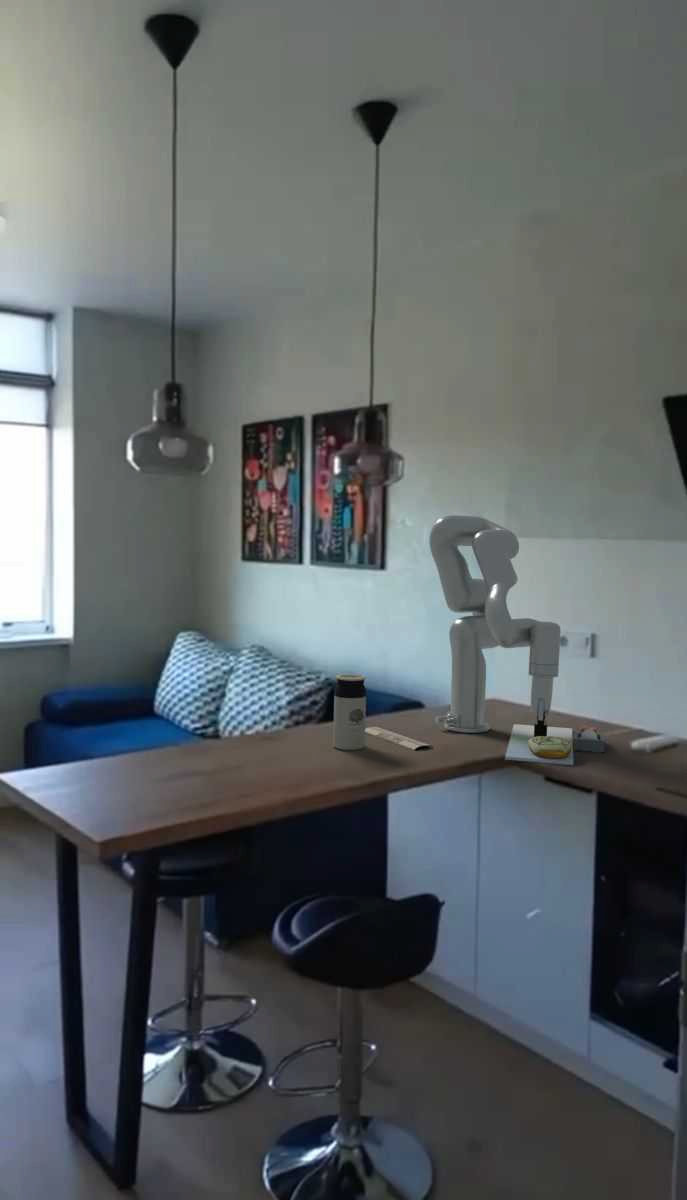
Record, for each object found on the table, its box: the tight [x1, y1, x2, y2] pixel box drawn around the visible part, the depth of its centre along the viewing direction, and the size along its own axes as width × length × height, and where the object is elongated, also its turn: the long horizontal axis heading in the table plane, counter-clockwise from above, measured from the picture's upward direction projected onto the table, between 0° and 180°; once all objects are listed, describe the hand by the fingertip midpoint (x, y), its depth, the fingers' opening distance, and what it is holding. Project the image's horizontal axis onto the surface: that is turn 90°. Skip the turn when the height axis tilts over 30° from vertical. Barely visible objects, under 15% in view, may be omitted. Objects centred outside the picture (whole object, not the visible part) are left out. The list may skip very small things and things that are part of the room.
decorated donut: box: [528, 736, 572, 759], centre depth 220 cm, size 10×11×4 cm
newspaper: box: [365, 726, 434, 751], centre depth 235 cm, size 24×7×2 cm, turn 32°
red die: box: [579, 725, 597, 734], centre depth 238 cm, size 4×4×4 cm
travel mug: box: [332, 673, 367, 751], centre depth 225 cm, size 8×8×18 cm
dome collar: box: [572, 732, 606, 753], centre depth 231 cm, size 8×8×3 cm
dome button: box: [580, 729, 598, 740], centre depth 231 cm, size 5×5×4 cm
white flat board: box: [504, 723, 574, 766], centre depth 234 cm, size 39×16×1 cm, turn 166°
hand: (540, 739), depth 233 cm, fingers closed
